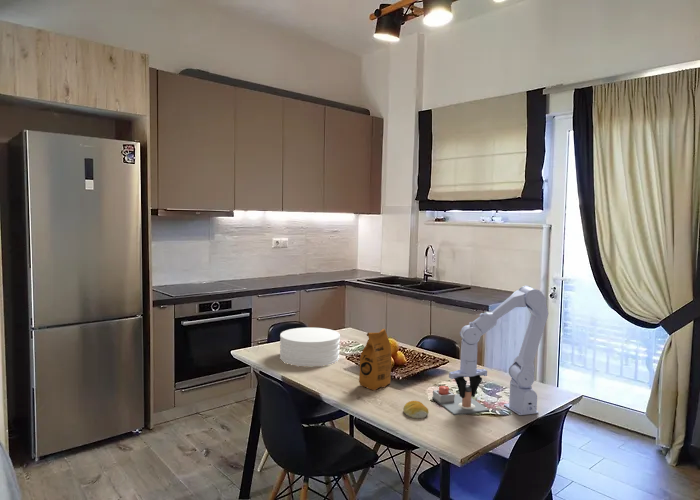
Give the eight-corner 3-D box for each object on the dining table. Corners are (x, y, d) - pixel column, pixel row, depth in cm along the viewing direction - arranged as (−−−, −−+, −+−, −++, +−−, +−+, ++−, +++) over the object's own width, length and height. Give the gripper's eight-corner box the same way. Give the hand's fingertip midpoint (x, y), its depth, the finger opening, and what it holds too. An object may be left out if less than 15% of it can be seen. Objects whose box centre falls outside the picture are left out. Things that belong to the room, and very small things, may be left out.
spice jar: (472, 407, 175) (473, 387, 175) (464, 407, 175) (465, 388, 174) (468, 403, 179) (469, 384, 178) (460, 404, 178) (460, 385, 177)
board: (489, 411, 174) (489, 402, 173) (454, 415, 169) (454, 406, 169) (465, 394, 189) (465, 387, 189) (432, 398, 185) (432, 390, 184)
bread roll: (421, 407, 176) (421, 397, 175) (431, 418, 167) (431, 406, 167) (399, 409, 174) (400, 398, 174) (408, 419, 165) (408, 408, 165)
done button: (450, 396, 181) (450, 388, 181) (441, 397, 180) (441, 389, 180) (445, 393, 185) (445, 385, 185) (436, 394, 184) (437, 386, 183)
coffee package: (355, 385, 197) (356, 331, 195) (375, 378, 206) (377, 326, 204) (373, 391, 190) (375, 335, 188) (394, 384, 199) (395, 330, 197)
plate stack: (316, 371, 213) (317, 345, 212) (267, 360, 227) (267, 335, 227) (350, 356, 237) (351, 333, 236) (303, 346, 251) (304, 324, 250)
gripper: (480, 354, 181) (478, 390, 182) (445, 357, 177) (443, 394, 178) (491, 360, 175) (489, 397, 176) (455, 363, 170) (453, 401, 171)
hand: (467, 396), depth 176 cm, fingers open, 4 cm apart
